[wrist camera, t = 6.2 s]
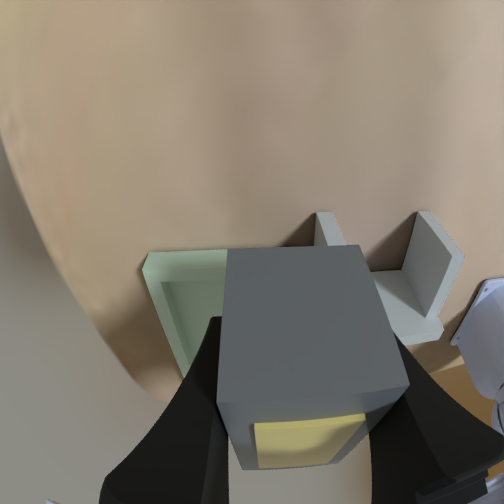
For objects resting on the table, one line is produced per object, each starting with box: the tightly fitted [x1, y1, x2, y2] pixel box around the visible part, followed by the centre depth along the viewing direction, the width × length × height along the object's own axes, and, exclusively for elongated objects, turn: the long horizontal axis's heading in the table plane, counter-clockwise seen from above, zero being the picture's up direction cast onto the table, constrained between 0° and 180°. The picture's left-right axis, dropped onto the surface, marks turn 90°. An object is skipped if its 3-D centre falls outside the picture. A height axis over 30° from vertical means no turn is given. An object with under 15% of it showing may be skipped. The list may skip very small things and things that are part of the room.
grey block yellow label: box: [216, 245, 410, 470], centre depth 11 cm, size 9×5×6 cm, turn 2°
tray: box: [142, 247, 274, 378], centre depth 24 cm, size 17×10×2 cm, turn 3°
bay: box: [314, 211, 465, 346], centre depth 17 cm, size 6×8×6 cm
